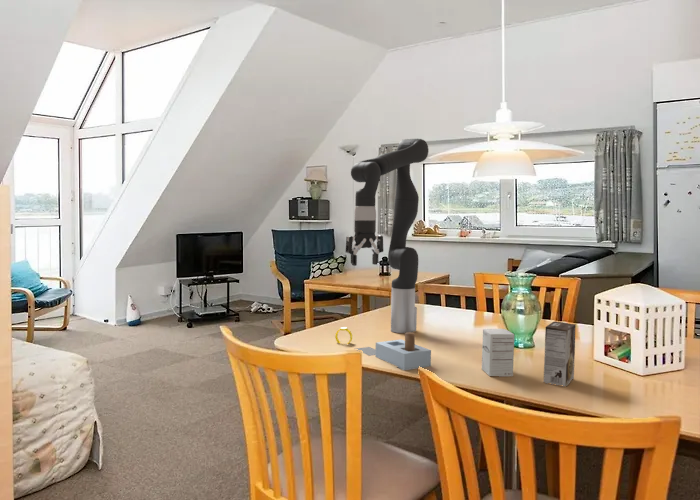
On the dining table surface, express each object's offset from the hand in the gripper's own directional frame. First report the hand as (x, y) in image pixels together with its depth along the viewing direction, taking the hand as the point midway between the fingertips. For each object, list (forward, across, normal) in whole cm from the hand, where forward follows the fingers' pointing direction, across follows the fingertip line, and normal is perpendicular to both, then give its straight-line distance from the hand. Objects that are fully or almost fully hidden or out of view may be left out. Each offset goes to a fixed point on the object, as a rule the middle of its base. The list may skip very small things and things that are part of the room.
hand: (364, 264), depth 202 cm
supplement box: (+28, -16, +50) cm, 60 cm away
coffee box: (+28, -26, +64) cm, 75 cm away
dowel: (+28, +2, +31) cm, 42 cm away
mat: (+28, +5, +12) cm, 31 cm away
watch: (+28, +7, -2) cm, 29 cm away
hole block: (+28, +2, +27) cm, 39 cm away
